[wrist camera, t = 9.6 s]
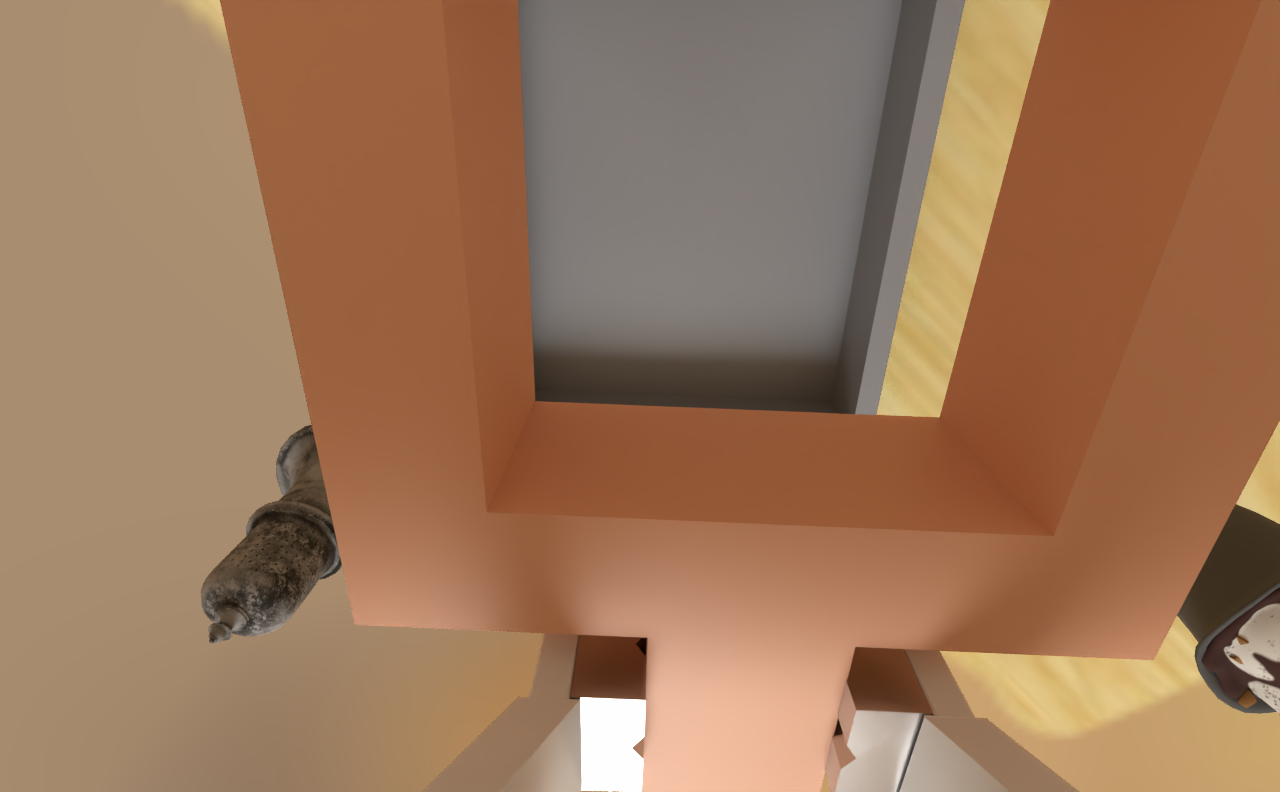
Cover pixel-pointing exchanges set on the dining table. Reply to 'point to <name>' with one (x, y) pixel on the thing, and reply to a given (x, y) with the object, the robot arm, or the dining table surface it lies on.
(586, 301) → the tray
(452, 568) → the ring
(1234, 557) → the sundae
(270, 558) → the salt shaker
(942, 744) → the robot arm
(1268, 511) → the dining table surface
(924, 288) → the dining table surface
